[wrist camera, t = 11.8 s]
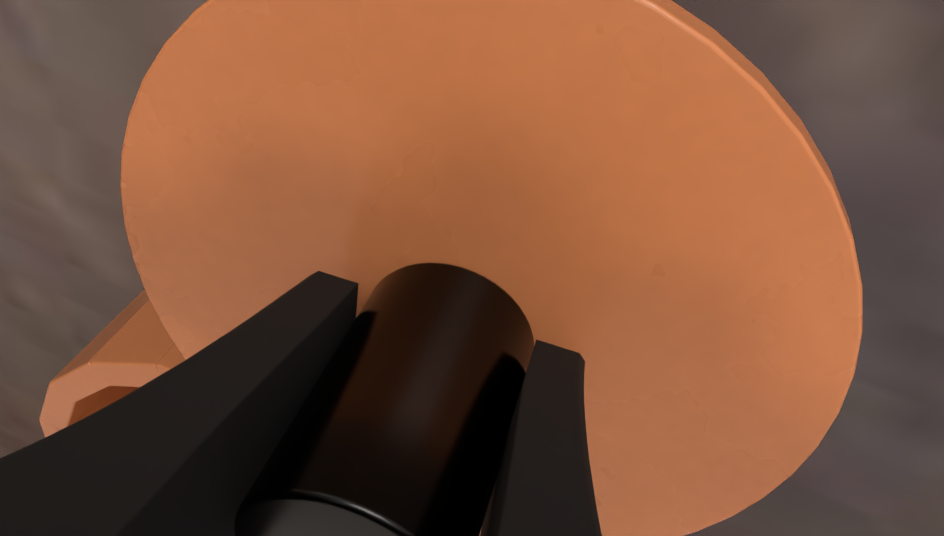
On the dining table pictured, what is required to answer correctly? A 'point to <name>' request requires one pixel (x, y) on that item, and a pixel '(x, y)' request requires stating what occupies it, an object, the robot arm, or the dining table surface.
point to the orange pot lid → (500, 248)
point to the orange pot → (110, 366)
